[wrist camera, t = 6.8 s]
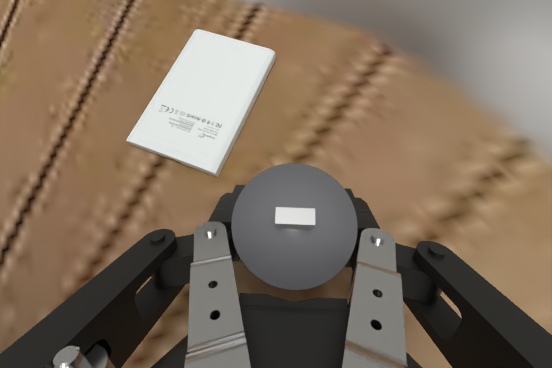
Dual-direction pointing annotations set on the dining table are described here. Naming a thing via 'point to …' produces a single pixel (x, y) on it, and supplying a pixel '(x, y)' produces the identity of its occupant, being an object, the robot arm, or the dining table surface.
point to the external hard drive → (204, 101)
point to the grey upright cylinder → (294, 226)
